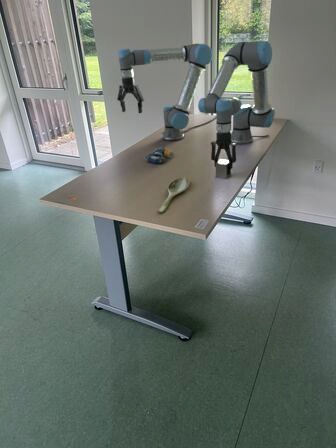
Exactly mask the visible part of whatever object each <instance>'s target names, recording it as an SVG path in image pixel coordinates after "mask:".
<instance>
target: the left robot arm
mask: <svg viewBox="0 0 336 448" xmlns="http://www.w3.org/2000/svg"><path fill="white" fill-rule="evenodd" d="M117 52H118V53H117V55H118V62H119V69H120V76H121V85H118V88H119V89H118V93H117V94H118V95H117V98H116V99H117V101H119V104H120V107H121V112H122V113H125V112H126V110H127V109H126V101H125V98H126V96H127V94H132V95H133V97H134V98H135V100H136V101H137V110H138V114H142V113H143V102H145V98H144V96H143V94H142V92H141V90H140V86H139V85H135V78H134V69H133V67H135V66H144V65H150V64H152V63H159V62H160V63H161V62H163V63H164V62H176V61H178V62H179V61H181V62H182V63H188V67H189V68H188V71H187V73H186V76H185V80H184V82H183V85H182V88H181V90H180V93H179V96H178V98H177V99H178V100H177V102H176V104H174V105H166V106H164V107H163V108H162V109H163V111H162V112H163V121H164V130H163V132H162V139H163V140H164V141H167V142H176V141H180V140H182V139H184V137H185V136H184V133H187V132H188V131H190V130H191V129H194V128H198V127H200V126H201V127H202V126H203V125H206V124H208V123H210V122H212V121H213V120H216V116H214V117H213V118H211V119H210V120H208V121H206V122H204V123H201V124H197V125H194V126H192V127H189V128H188V129H186V130H183V129H185V128H187V126H188V125H189V123H190V118H189V116H190V113H191V111H190V107H191V104H192V100H193V97H194V95H195V93H196V89H197V86H198V84H199V82H200V79H201V76H202V73H203V72H204V71H206V69H207V66H208V65H209V64H210V63H212V61H213V57H214V53H213V50H212V48H211V47H210V45H208V44H205V43H192V44H186V45H181V46H180V47H167V48H152V49H149V48H148V49H133V50H132V51H131V49H130V48H121V49H118V51H117Z"/></svg>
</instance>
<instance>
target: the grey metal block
mask: <svg viewBox="0 0 336 448" xmlns="http://www.w3.org/2000/svg"><path fill="white" fill-rule="evenodd" d="M218 160H219V161H218V162H216V167H215V178H218V179H219V178H220V179H227V178H229V177H230V176H231V175H232V173H231V174H230V175H228V163H229V160H228V159H223V158H220V159H218Z"/></svg>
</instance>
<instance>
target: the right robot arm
mask: <svg viewBox="0 0 336 448" xmlns="http://www.w3.org/2000/svg"><path fill="white" fill-rule="evenodd" d="M272 60H273V48H272V44H271V43H270V42H269V41H268V40H267V41H265V40H258V41H241V42H238V43H236V44H235V45H233V46H232V47H231V48H230V49H229V50H228V51H227V52H226V53H225V54H224V56H223V58H222V60H221V65H220V68H219V70H218V72H217V75H216V76H215V79H214V80H213V83H212V85H211V87H210V89H209V90H208V93H207V94H206V96H205V97H201V98H200V99H199V100H198V104H197V109H198V111H199V112H200V113H202V114H213V115H215V114H216V115H215V117H216V118H215V120H216V122H215V123H216V124H215V128H216V130H215V131H216V133H215V135H216V137H215V138H216V140H213V141H211V142H210V145H211V153H210V160H211V161H214V167H215V168H216V162H218V161H219V160H220V159H219V158H220V155H221V152H222V150H224V151H225V153H226V157H227V160H229V163H228V175H230V174H231V175H232V169H233V165H234V164H235V163H236V162H237V149H236V148H237V146H238V145H246V144H250V143H252V142H253V139H254V138H266V137H267V138H268V137H269V136H270V135H269V134H267V135H253V133H252V131H251V128H253V127H254V128H263V129H264V128H271V126H272V125H273V122H274V118H275V113H276V110H275V109H274V108H272V105H271V103H270V102H269V92H268V91H269V90H268V77H267V76H268V74H267V73H268V72H267V69H268V68H269V66H270V64H271V63H272ZM239 66H246V67H247V70H248V72H250V76H251V77H250V79H251V89H252V97H253V106H252V105H251V104H242V100H241V99H240V98H238V97H232V98H227V97H225V98H222V97H223V95H224V94H225V91H226V89H227V87H228V85H229V83H230V80H231V78H232V76H233V74H234V72H235V71H236V70H237V69H238V67H239ZM230 146H231V147H230ZM231 175H230V176H231Z"/></svg>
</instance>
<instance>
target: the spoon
mask: <svg viewBox="0 0 336 448" xmlns="http://www.w3.org/2000/svg"><path fill="white" fill-rule="evenodd" d="M190 184H191V183H190V179H189V178H188V177H178V178H175V179H173V180H172V181H170V183H169V184H168V186H167V191H168V196H167V198H166V199H165V200H164V201H163V203H162V204H161V205H160V207H159V208H158V210H157V212H158V213H164V212H166V211H167V208H168V206H169V204H170V202H171V200H172V199H173V198H174V197H176V196H177V195H179V194H181V193H183V192H185V191H186V190H187V189H188V188H189V186H190Z"/></svg>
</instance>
